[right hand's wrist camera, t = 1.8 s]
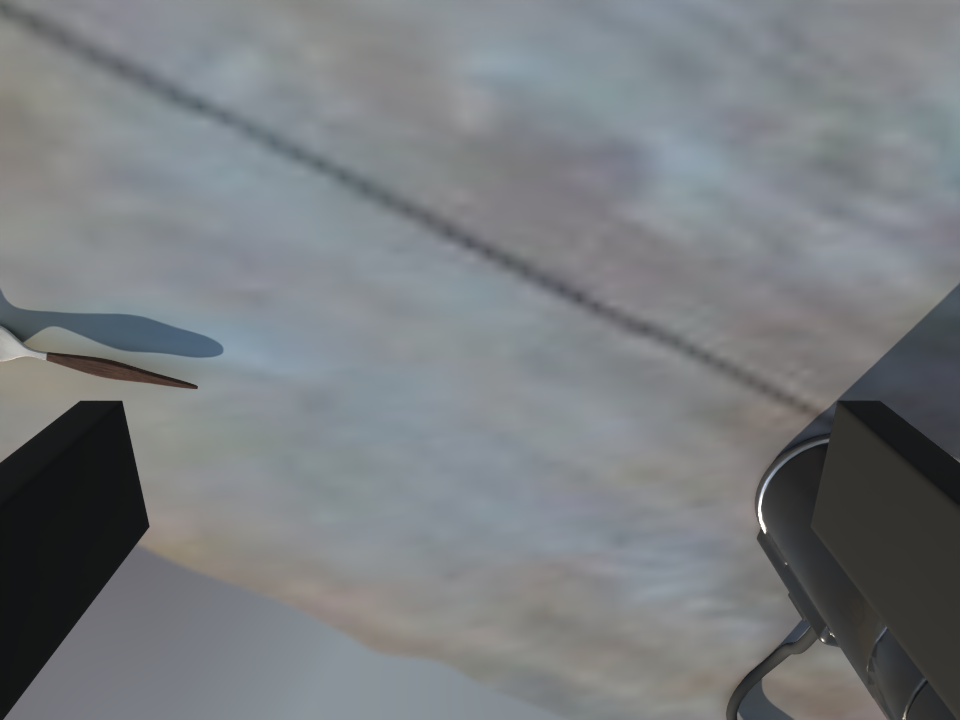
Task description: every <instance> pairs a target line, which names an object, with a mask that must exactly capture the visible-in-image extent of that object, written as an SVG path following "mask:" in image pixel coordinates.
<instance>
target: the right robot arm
mask: <svg viewBox="0 0 960 720" xmlns="http://www.w3.org/2000/svg"><path fill="white" fill-rule="evenodd" d="M149 527H150V526H149V522H148V517H147V513H146V508H145V503H144V499H143V494H142V490H141V485H140V480H139V476H138V471H137V467H136V462H135V458H134V453H133V448H132V444H131V439H130V435H129V430H128V425H127V421H126V416H125V412H124V407H123V402H122V401H79V402H78V403H77V404H76V405H74V406H73V407H72V408H70V409H69V410H68V411H67V412H65V413H64V414H63V415H61V416H60V417H59V418H58V419H56V420H55V421H54V422H52V423H51V424H50V425H49V426H47V427H46V428H45V429H43V430H42V431H41V432H40V433H38V434H37V435H36V436H34V437H33V438H32V439H31V440H29V441H28V442H27V443H25V444H24V445H23V446H21V447H20V448H19V449H18V450H16V451H15V452H14V453H12V454H11V455H10V456H9V457H7V458H6V459H5V460H3V461H2V462H1V463H0V720H3V719H4V718H5V716H6V715H7V714H8V713H9V711H10V710H11V709H12V707H13V706H14V705H15V703H16V702H17V701H18V699H19V698H20V697H21V695H22V694H23V693H24V691H25V690H26V689H27V687H28V686H29V685H30V684H31V682H32V681H33V680H34V678H35V677H36V676H37V674H38V673H39V672H40V670H41V669H42V668H43V666H44V665H45V664H46V662H47V661H48V660H49V659H50V657H51V656H52V655H53V653H54V652H55V651H56V649H57V648H58V647H59V645H60V644H61V643H62V641H63V640H64V639H65V637H66V636H67V635H68V633H69V632H70V631H71V629H72V628H73V627H74V626H75V624H76V623H77V622H78V620H79V619H80V618H81V616H82V615H83V614H84V612H85V611H86V610H87V608H88V607H89V606H90V604H91V603H92V602H93V600H94V599H95V598H96V596H97V595H98V594H99V593H100V591H101V590H102V589H103V587H104V586H105V585H106V583H107V582H108V581H109V579H110V578H111V577H112V575H113V574H114V573H115V571H116V570H117V569H118V567H119V566H120V565H121V563H122V562H123V561H124V560H125V558H126V557H127V556H128V554H129V553H130V552H131V550H132V549H133V548H134V546H135V545H136V544H137V542H138V541H139V540H140V539H141V537H142V536H143V535H144V533H145V532H146V531H147V529H148V528H149ZM810 527H811V528H812V529H813V531H814V532H815V533H816V535H817V536H818V537H819V539H820V540H821V541H822V542H823V544H824V545H825V546H826V548H827V549H828V550H829V552H830V553H831V554H832V556H833V557H834V558H835V560H836V561H837V562H838V564H839V565H840V566H841V568H842V569H843V570H844V571H845V573H846V574H847V575H848V577H849V578H850V579H851V581H852V582H853V583H854V585H855V586H856V587H857V589H858V590H859V591H860V593H861V594H862V595H863V597H864V598H865V599H866V600H867V602H868V603H869V604H870V606H871V607H872V608H873V610H874V611H875V612H876V614H877V615H878V616H879V618H880V619H881V620H882V622H883V623H884V624H885V626H886V627H887V628H888V629H889V631H890V632H891V633H892V635H893V636H894V637H895V639H896V640H897V641H898V643H899V644H900V645H901V647H902V648H903V649H904V651H905V652H906V653H907V655H908V656H909V657H910V659H911V660H912V661H913V662H914V664H915V665H916V666H917V668H918V669H919V670H920V672H921V673H922V674H923V676H924V677H925V678H926V680H927V681H928V682H929V684H930V685H931V686H932V688H933V689H934V690H935V691H936V693H937V694H938V695H939V697H940V698H941V699H942V701H943V702H944V703H945V705H946V706H947V707H948V709H949V710H950V711H951V713H952V714H953V715H954V717H955V718H956V719H957V720H960V463H959V462H958V461H957V460H955V459H954V458H953V457H951V456H950V455H949V454H948V453H946V452H945V451H944V450H942V449H941V448H940V447H939V446H937V445H936V444H935V443H933V442H932V441H931V440H929V439H928V438H927V437H926V436H924V435H923V434H922V433H920V432H919V431H918V430H917V429H915V428H914V427H913V426H911V425H910V424H909V423H908V422H906V421H905V420H904V419H902V418H901V417H900V416H899V415H897V414H896V413H895V412H893V411H892V410H891V409H890V408H888V407H887V406H886V405H884V404H883V403H882V402H881V401H838V402H837V407H836V412H835V416H834V421H833V425H832V430H831V434H830V439H829V444H828V448H827V453H826V457H825V462H824V467H823V471H822V476H821V480H820V485H819V490H818V494H817V499H816V503H815V508H814V513H813V517H812V522H811V526H810Z"/></svg>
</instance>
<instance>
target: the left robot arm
mask: <svg viewBox="0 0 960 720" xmlns="http://www.w3.org/2000/svg"><path fill="white" fill-rule="evenodd" d="M829 439H830V434H828V435H822V436H818V437H814V438H811V439H808V440H806V441H803V442H801V443H799V444H797V445H795V446H793V447H792V448H790V449H789V450H787V451H786V452H784V453H783V454H782V455H781V456H779V457H778V458H777V459H776V460H775V461H774V462H773V463H772V464H771V466H770V467H769V468H768V469H767V471H766V472H765V474H764V475H763V477H762V479H761V481H760V483H759V486H758V489H757V492H756V497H755V512H756V517H757V520H758V522H759V525H760V526H761V529H760V532H759V534H758V536H757V540H758V542H759V544H760V545H761V547H762V549H763V550H764V552H765V553H766V555H767V557H768V558H769V560H770V562H771V563H772V565H773V566H774V568H775V570H776V571H777V573H778V575H779V576H780V578H781V579H782V581H783V583H784V584H785V586H786V587H787V589H788V591H789V594H788V596H789V598H790V599H791V601H792V603H793V604H794V606H795V608H796V609H797V611H798V613H799V614H800V616H801V617H802V619H803V620H804V621H807V622H808V623H809V625H810V628H809V629H808V630H807V631H806V633H805V634H804V635H803V636H802V637H801V638H800V639H799V640H797V641H796V642H794V643H786V644H784V645H782V646H781V647H780V648H779V649H778V650H776V651H775V652H774V653H773V654H772V655H771V656H769V657H768V658H767V659H766V660H765V661H764V662H762V663H761V664H760V665H759V666H758V667H756V668H755V669H754V670H753V671H752V672H751V673H750V674H749V675H748V676H747V677H746V678H745V679H744V680H743V681H742V682H741V683H740V684H739V685H738V687H737V688H736V690H735V691H734V693H733V695H732V696H731V698H730V701H729V703H728V706H727V712H726V717H727V720H737V712H738V708H739V705H740V703H741V701H742V699H743V698H744V697H745V695H746V694H747V693H748V691H749V690H750V689H751V688H752V687H753V686H754V685H755V684H756V683H757V682H758V681H759V680H760V679H761V678H763V677H764V676H765V675H766V674H767V673H769V672H770V671H771V670H772V669H773V668H775V667H776V666H777V665H778V664H780V663H781V662H782V661H783V660H784V659H786V658H787V657H788V656H789V655H791V654H801V653H803V652H804V651H806V650H807V649H808V648H809V647H810V646H811V645H812V644H813V643H814V642H815V641H816V640H817V639H819V640H820V641H821V642H823V643H824V644H827V645H831V646H835V647H840V648H841V649H842V651H843V652H844V654H845V655H846V657H847V659H848V660H849V662H850V663H851V665H852V666H853V668H854V669H855V671H856V672H857V674H858V676H859V677H860V679H861V680H862V682H863V683H864V685H865V686H866V688H867V689H868V691H869V693H870V694H871V696H872V697H873V698H874V700H875V701H876V703H877V704H878V706H879V708H880V709H881V711H882V712H883V714H884V715H885V717H886V718H887V720H957V719H956V718H955V717H954V715H953V714H952V713H951V711H950V710H949V709H948V707H947V706H946V705H945V703H944V702H943V701H942V699H941V698H940V697H939V695H938V694H937V693H936V691H935V690H934V689H933V688H932V686H931V685H930V684H929V682H928V681H927V680H926V678H925V677H924V676H923V674H922V673H921V672H920V670H919V669H918V668H917V666H916V665H915V664H914V662H913V661H912V660H911V659H910V657H909V656H908V655H907V653H906V652H905V651H904V649H903V648H902V647H901V645H900V644H899V643H898V641H897V640H896V639H895V637H894V636H893V635H892V633H891V632H890V631H889V629H888V628H887V627H886V626H885V624H884V623H883V622H882V620H881V619H880V618H879V616H878V615H877V614H876V612H875V611H874V610H873V608H872V607H871V606H870V604H869V603H868V602H867V600H866V599H865V598H864V597H863V595H862V594H861V593H860V591H859V590H858V589H857V587H856V586H855V585H854V583H853V582H852V581H851V579H850V578H849V577H848V575H847V574H846V573H845V571H844V570H843V569H842V568H841V566H840V565H839V564H838V562H837V561H836V560H835V558H834V557H833V556H832V554H831V553H830V552H829V550H828V549H827V548H826V546H825V545H824V544H823V542H822V541H821V540H820V539H819V537H818V536H817V535H816V533H815V532H814V531H813V529H812V528H811V527H810V526H811V522H812V517H813V513H814V508H815V503H816V499H817V494H818V490H819V485H820V480H821V476H822V471H823V467H824V462H825V457H826V453H827V448H828V444H829Z"/></svg>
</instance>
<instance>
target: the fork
mask: <svg viewBox="0 0 960 720" xmlns="http://www.w3.org/2000/svg"><path fill="white" fill-rule="evenodd" d="M23 356H32V357H37V358H41V359H44V360H47V361H50V362H54V363H57V364H60V365H63V366H66V367H69V368H72V369H75V370H79V371H82V372H85V373H88V374H92V375H96V376H100V377H104V378H110V379H117V380H125V381H134V382H143V383H151V384H158V385H166V386H173V387H181V388H190V389H198V386H196V385H194V384H191V383H188V382H184V381H181V380H178V379H174V378H171V377H167V376H163V375H160V374H156V373H153V372H149V371H146V370H143V369H139V368H136V367H133V366H130V365H126V364H123V363H120V362H116V361H112V360H108V359H103V358H96V357H88V356H79V355H70V354H60V353H50V352H42V351H37V350H33V349H31V348H29V347H27V346H26V345H24V344H23V343H22V342H21V341H20V340H19V339H18V338H17V337H15V336H14V335H13V334H12V333H11V332H10V331H9V330H7V329H6V328H4V327H2V326H0V361H7V360H12V359H15V358H19V357H23Z"/></svg>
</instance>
